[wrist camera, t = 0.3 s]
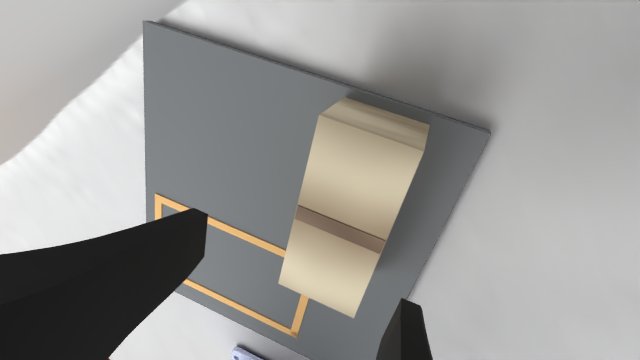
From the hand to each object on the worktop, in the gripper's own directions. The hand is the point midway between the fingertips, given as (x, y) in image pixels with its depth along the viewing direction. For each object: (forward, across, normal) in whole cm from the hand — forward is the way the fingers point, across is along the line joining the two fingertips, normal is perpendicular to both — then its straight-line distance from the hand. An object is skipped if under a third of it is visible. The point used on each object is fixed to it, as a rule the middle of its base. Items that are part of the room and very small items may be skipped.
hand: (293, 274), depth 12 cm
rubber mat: (+9, +5, +6) cm, 12 cm away
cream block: (+9, 0, +1) cm, 9 cm away
